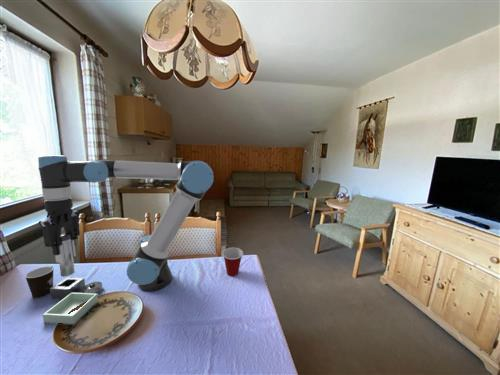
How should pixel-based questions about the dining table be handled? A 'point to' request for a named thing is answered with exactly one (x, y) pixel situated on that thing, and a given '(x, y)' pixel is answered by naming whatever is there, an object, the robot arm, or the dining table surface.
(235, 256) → the plastic cup
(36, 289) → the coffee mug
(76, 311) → the tray
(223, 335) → the dining table surface
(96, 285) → the pulley wheel
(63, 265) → the clear bottle
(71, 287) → the block
